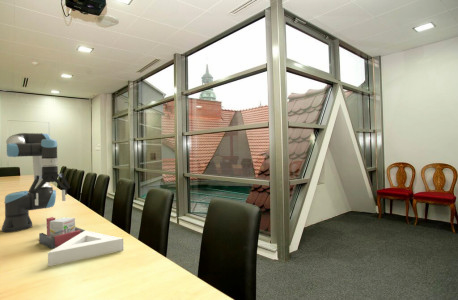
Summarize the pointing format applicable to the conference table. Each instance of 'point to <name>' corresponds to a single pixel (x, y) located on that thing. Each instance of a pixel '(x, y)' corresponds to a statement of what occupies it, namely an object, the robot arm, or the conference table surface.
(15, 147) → the robot arm
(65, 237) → the pull frame
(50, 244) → the lane rails
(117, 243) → the triangle block
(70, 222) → the ink box
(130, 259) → the conference table surface
